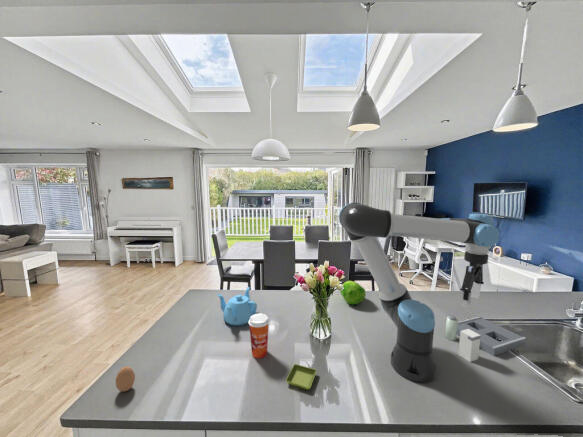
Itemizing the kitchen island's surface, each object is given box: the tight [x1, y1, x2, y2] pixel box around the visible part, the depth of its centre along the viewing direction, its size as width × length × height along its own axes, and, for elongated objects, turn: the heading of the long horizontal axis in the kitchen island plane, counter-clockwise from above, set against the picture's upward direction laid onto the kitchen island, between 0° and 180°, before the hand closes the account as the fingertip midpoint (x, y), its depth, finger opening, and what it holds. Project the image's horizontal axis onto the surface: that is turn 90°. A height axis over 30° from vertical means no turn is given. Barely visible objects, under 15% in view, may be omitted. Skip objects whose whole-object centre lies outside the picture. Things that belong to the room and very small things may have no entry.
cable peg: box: [444, 315, 459, 341], centre depth 105 cm, size 4×4×10 cm
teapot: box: [216, 286, 259, 327], centre depth 122 cm, size 17×19×12 cm
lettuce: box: [340, 280, 366, 306], centre depth 142 cm, size 14×20×12 cm
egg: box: [115, 366, 136, 393], centre depth 78 cm, size 5×5×8 cm
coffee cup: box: [247, 313, 271, 359], centre depth 95 cm, size 8×8×15 cm
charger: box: [457, 329, 481, 363], centre depth 93 cm, size 5×5×10 cm
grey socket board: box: [456, 316, 527, 357], centre depth 106 cm, size 20×18×3 cm
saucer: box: [285, 363, 318, 390], centre depth 83 cm, size 9×9×2 cm
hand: (470, 302), depth 99 cm, fingers open, 13 cm apart
